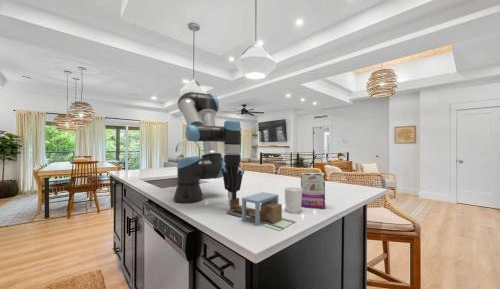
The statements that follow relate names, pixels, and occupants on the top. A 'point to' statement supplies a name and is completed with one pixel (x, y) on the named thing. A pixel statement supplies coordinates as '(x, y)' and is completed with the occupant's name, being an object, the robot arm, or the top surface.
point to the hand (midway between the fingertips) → (232, 205)
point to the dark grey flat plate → (236, 213)
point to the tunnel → (258, 207)
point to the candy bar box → (313, 190)
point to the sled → (261, 210)
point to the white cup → (293, 199)
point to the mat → (280, 224)
